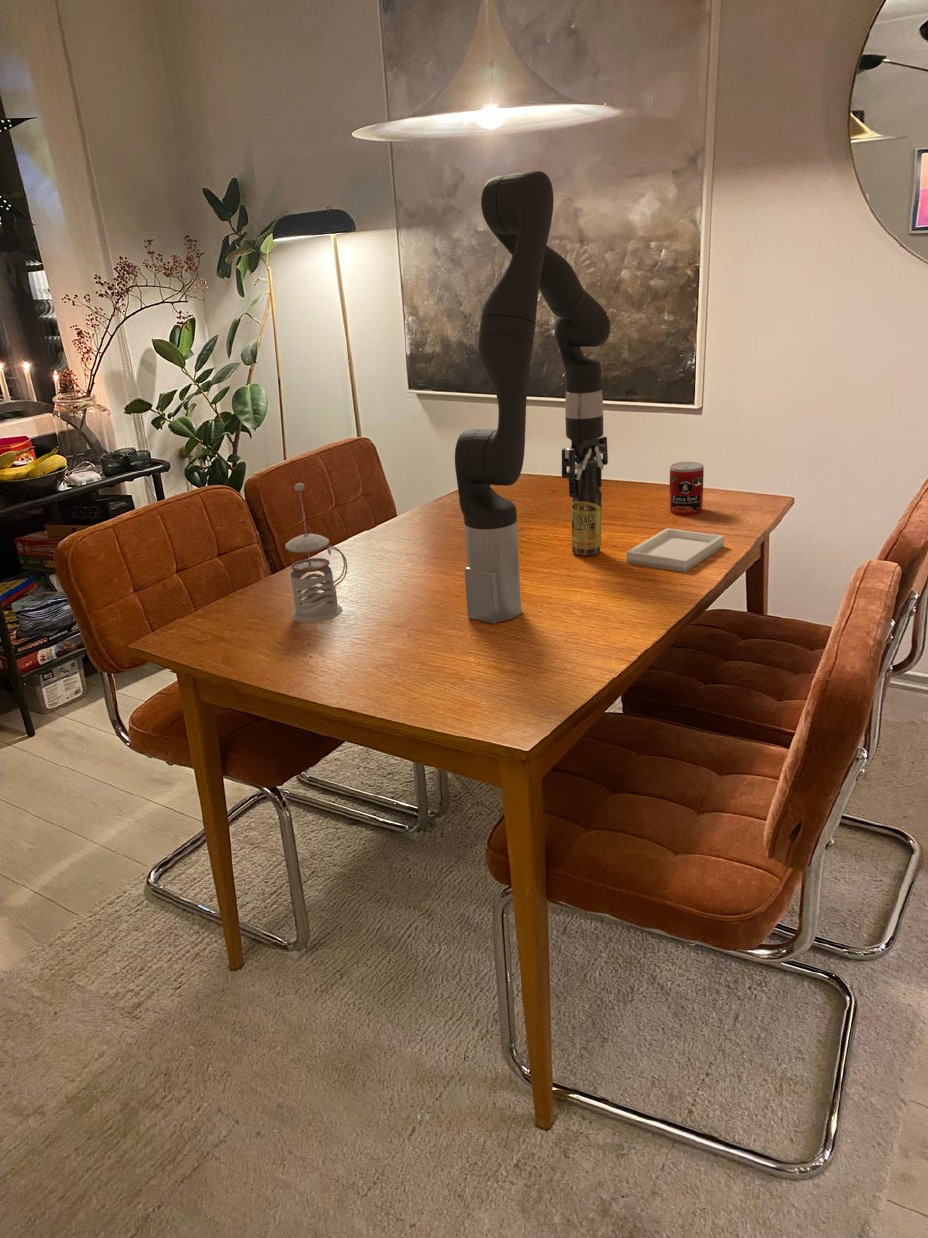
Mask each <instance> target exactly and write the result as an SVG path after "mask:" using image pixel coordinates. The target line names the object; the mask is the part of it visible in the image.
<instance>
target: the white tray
mask: <svg viewBox="0 0 928 1238" xmlns="http://www.w3.org/2000/svg"><path fill="white" fill-rule="evenodd" d="M724 547H725V535H722V534H721V535H720V534H714V533H713V534H712V533H706V532H698V531H691V530H690V531H689V530H684V529H683V530H682V529H677V528H676V529H675V528H669V527H668V528H665V529H663V530H661V531H659V532H658V533H657V534H655V535H653V536H651V537H650V538H648V539H646V540H644V541H643V542H640V543H639V544H637V545H635V546H634V547H632V548H631V549H629V550H627V551H626V563H628V564H632V565H633V564H634V565H640V566H645V567H652V568H657V569H663V570H671V571H674V572H675V571H676V572H682V573H687V572H688V571H690V570H691V569H693V568H694V567H696V566H697V565H698V564H700V563H702V562H703V561H704V560H706V559H707V558H709V557H710V556H712V555H713V554H715V553H716V552H718V551H719V550H720V549H722V548H724Z"/></svg>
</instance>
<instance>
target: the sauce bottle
mask: <svg viewBox="0 0 928 1238" xmlns="http://www.w3.org/2000/svg"><path fill="white" fill-rule="evenodd" d="M597 467H598V461H597V460H596V459H594V460H591V461H589V462H587V464H586V467H585V469H584V470H583V471H582V473H581V476H580V479H579V480H580V497H578V498H571V531H570V532H571V537H570V540H571V544H570V545H571V552H572V553H573V554H575V556H582V557H583V556H584V557H591V556H595V555H597V554H599V553H600V551H601V546H602V515H603V514H602V513H603V504H602V498H603V494H602V491H601V488H599V487H598V485H597V478H596V474H597Z"/></svg>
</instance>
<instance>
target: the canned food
mask: <svg viewBox="0 0 928 1238" xmlns="http://www.w3.org/2000/svg"><path fill="white" fill-rule="evenodd" d="M704 470H705V469H704V464H703V463H701V462H698V461H697V462H696V461H681V462H680V461H679V462H675V463H672V464H670V467H669V502H668V503H669V504H668V505H669V511H670V513H671V514H673V515H677V516H693V515H698V514H700V513H701V512H702V510H703V503H704V501H703V500H704V499H703V498H704V474H705V473H704V472H705V471H704Z"/></svg>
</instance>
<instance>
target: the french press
mask: <svg viewBox="0 0 928 1238" xmlns="http://www.w3.org/2000/svg"><path fill="white" fill-rule="evenodd" d="M304 490H306V488H305V484H304V483H302V482H297V483H295V485H294V491H296V492H298V491H299V497H300V503H301V510H302V511H301V513H302V518H303V525H304V526H303V527H304V532H305V533H304V534H300V535H298V536H296V537H293V538H291V539H290V540H289V541H288V542H286V543H285V549H286V550H287V551H288V552H292V553H307V554H308V558H304V559H299V560H297V561H294V562H293V563H292V564H291V565H290V569H291V570H292V571H291V573H290V580H291V587H292V593H293V599H294V600H293V601H294V607H295V609H294V610H293V611H292V612H291V613H290V618H291V619H292V620H294V621H295V622H299V623H309V624H310V623H313V624H314V623H320V622H324V621H328V620H332V619H334V618H336V617H339V616H340V615H341V614H342V613H343V607H342V606H340V604H338V596H337V590H336V589H337V588H336V587H337V586H338V585H340V584H341V583H342V582H343V581H344V579H346V575H347V573H348V562H347V558H346V557H345V555H344V553H343V552H342V551H341V550H340V549H339V548H338V547H335V546H333V545H329V544H330V540H329V538H327V537H326V536H323V535H322V534H321V535H320V534H316V533H307V528H306V519H305V512H304V507H303V498H302V492H301V491H304ZM326 547H327V548H326ZM325 548H326V549H327V550H326V551H327V554H328V555H329V556H331V555H332V550H334V551H337V552H338V553H339V554H340V555H341V557H342V560H343V561H342V562H343V567H342V572H341V574H340V576H339V577H337V578H336V579H335V580H334V577H333V570H332V567H330V566H329V565H330V560H328V559H326V558H322V557H314V558H313V557H312V558H311V555H310V554H311V553H310V552H316V551H320V550H322V549H325ZM312 572H321V573H322V574H319V573H312ZM307 573H311V574H307ZM306 574H307V575H306ZM305 575H306V576H305ZM343 575H344V576H343ZM303 576H305V577H304V578H302V577H303ZM341 578H342V579H341ZM340 579H341V580H340ZM339 580H340V581H339ZM319 584H320V585H319ZM318 585H319V586H318ZM303 591H304V592H303ZM318 591H322V592H318ZM302 592H303V593H302Z"/></svg>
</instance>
